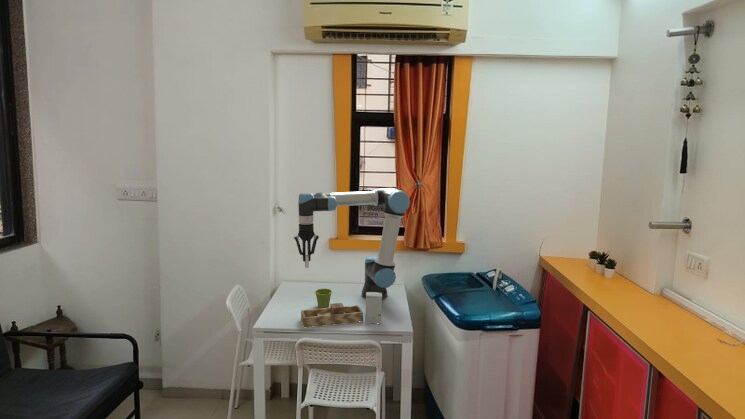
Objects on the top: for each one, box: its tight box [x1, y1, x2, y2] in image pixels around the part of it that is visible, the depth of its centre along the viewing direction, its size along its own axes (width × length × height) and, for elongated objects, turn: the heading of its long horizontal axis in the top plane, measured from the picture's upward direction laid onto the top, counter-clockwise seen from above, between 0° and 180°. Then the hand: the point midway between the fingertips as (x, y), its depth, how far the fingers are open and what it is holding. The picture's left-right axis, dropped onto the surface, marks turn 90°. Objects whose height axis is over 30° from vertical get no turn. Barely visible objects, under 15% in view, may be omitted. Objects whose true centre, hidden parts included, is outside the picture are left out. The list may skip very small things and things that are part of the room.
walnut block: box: [329, 302, 344, 315], centre depth 230 cm, size 6×6×5 cm
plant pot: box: [314, 288, 333, 309], centre depth 248 cm, size 9×9×9 cm
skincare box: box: [364, 292, 383, 325], centre depth 229 cm, size 8×6×15 cm
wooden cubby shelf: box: [300, 304, 364, 328], centre depth 230 cm, size 30×10×5 cm, turn 106°
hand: (306, 267), depth 238 cm, fingers closed
